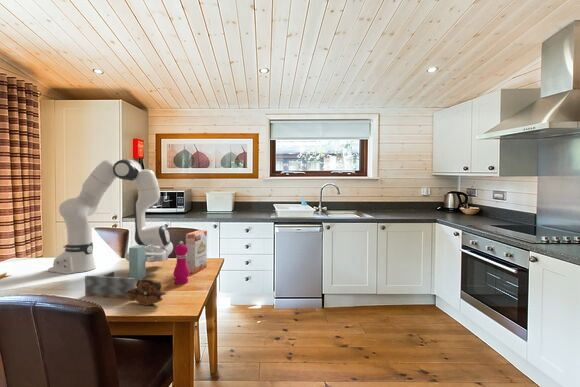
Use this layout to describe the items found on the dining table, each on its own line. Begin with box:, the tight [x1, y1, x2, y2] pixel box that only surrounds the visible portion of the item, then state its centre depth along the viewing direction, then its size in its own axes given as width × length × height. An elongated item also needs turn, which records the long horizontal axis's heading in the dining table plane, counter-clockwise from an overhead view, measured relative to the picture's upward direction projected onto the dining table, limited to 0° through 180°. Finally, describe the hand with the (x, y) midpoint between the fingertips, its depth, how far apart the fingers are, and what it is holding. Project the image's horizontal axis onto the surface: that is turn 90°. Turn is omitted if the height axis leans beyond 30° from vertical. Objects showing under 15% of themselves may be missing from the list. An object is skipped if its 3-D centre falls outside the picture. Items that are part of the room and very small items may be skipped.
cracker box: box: [185, 229, 208, 274], centre depth 179 cm, size 14×6×21 cm, turn 168°
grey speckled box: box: [84, 271, 137, 300], centre depth 145 cm, size 22×18×8 cm
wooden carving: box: [127, 277, 167, 306], centre depth 130 cm, size 16×5×10 cm, turn 80°
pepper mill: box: [173, 240, 190, 285], centre depth 157 cm, size 7×7×20 cm
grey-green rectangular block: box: [128, 244, 147, 281], centre depth 163 cm, size 4×6×16 cm
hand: (137, 259), depth 163 cm, fingers open, 8 cm apart
